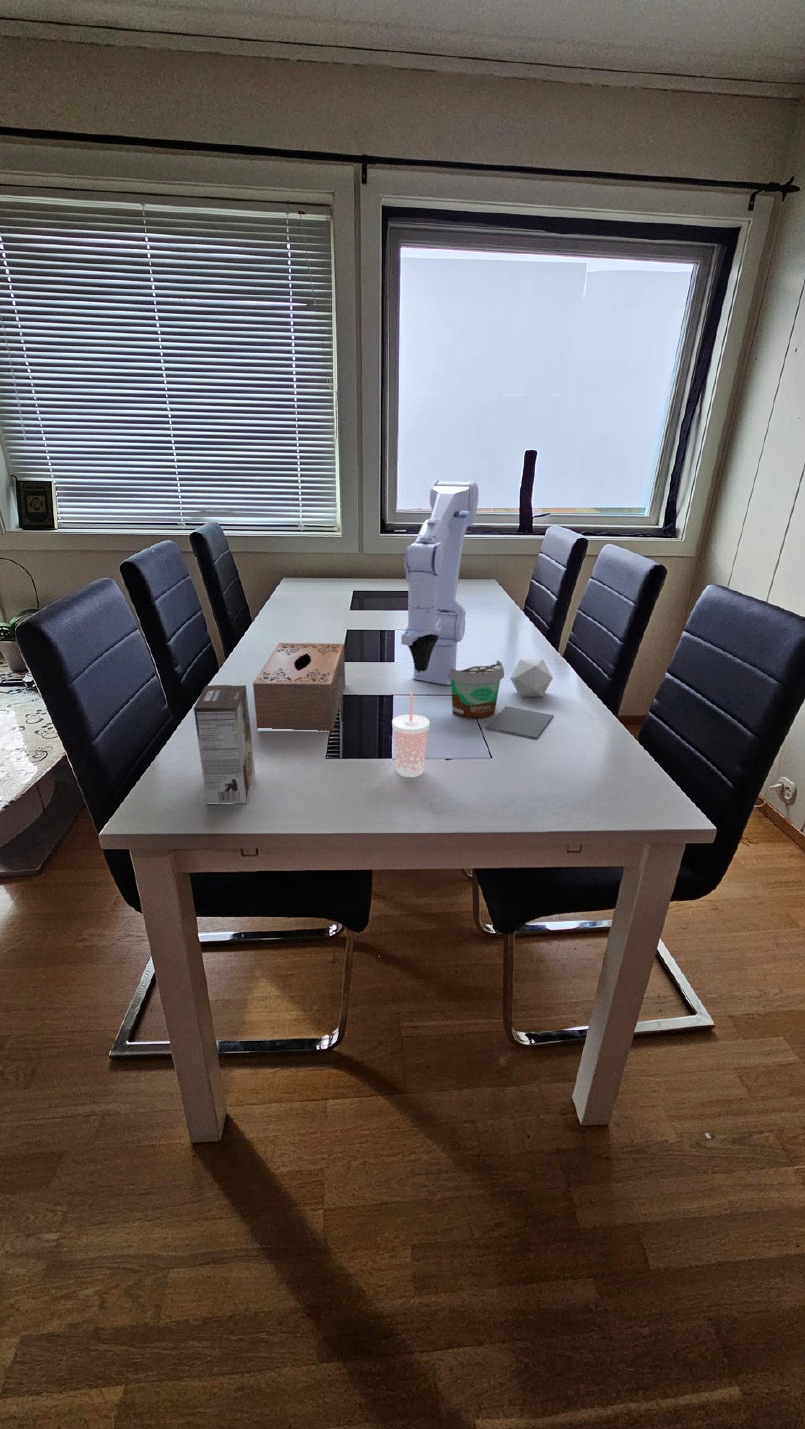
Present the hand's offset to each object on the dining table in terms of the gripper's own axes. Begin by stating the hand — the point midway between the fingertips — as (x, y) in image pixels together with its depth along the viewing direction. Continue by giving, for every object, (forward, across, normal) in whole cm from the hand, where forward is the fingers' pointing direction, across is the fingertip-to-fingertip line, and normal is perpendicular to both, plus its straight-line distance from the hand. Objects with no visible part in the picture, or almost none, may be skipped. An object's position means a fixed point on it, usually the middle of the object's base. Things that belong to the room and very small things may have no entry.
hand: (421, 669), depth 129 cm
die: (+8, +16, -19) cm, 26 cm away
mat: (+7, 0, -22) cm, 23 cm away
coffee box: (+8, -47, +10) cm, 49 cm away
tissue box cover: (+8, -13, +20) cm, 26 cm away
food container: (+8, 0, -14) cm, 15 cm away
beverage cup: (+8, -28, -12) cm, 31 cm away
